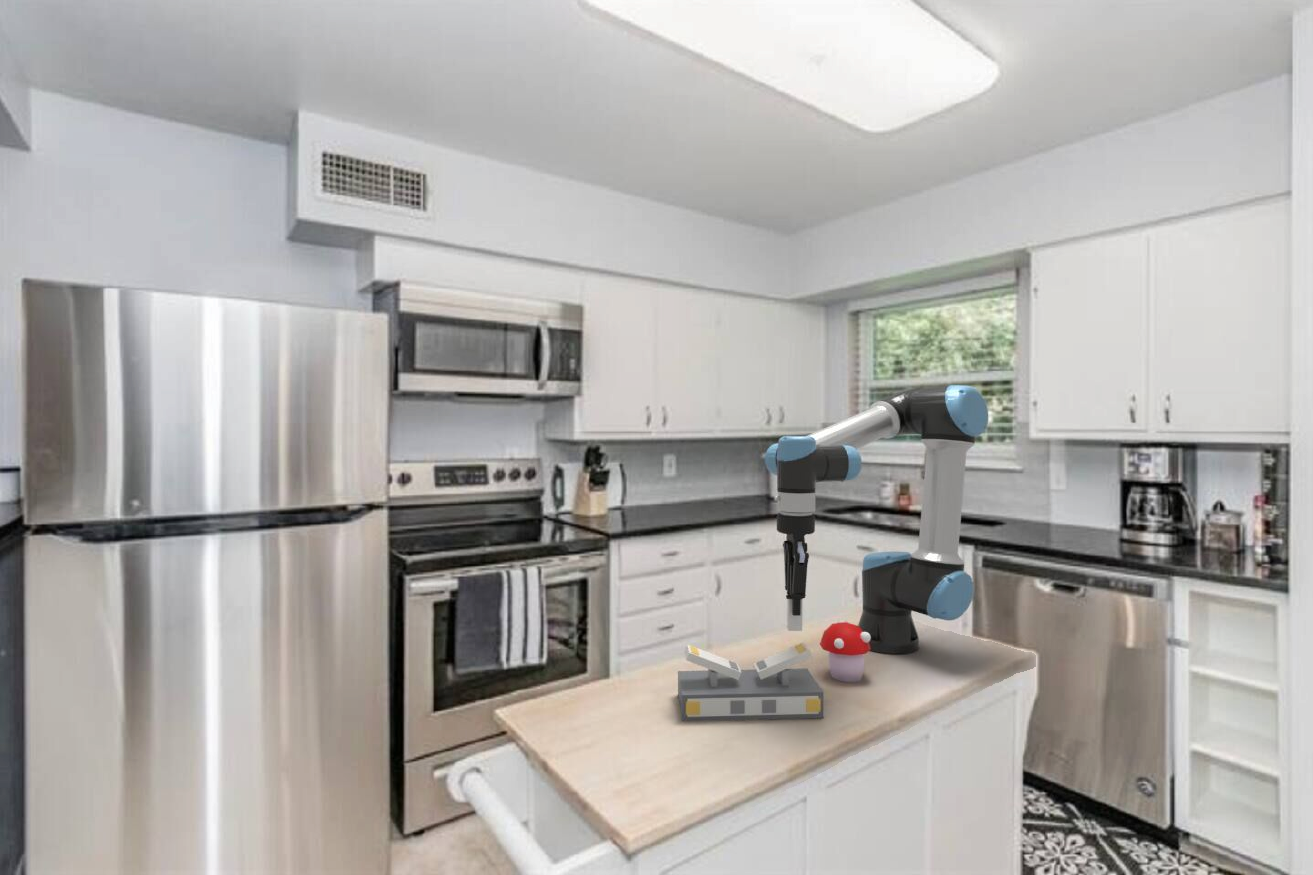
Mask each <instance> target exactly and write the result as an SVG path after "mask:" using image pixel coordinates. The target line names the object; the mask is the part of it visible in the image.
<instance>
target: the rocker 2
mask: <svg viewBox="0 0 1313 875" xmlns="http://www.w3.org/2000/svg"><path fill="white" fill-rule="evenodd" d="M811 659H813V655H812V653H811V651H810V649H809V647H808V646H807V645H806V643H805V642H804V641H803V642H800V643H798V644H796V645H794V646H790V647H788V648H786V649H784V650H782V651H779V652H776V653H774V654H771V655H770V656H769V655H768V656H767V657H765V658H762V659H760V660H758V661H756V662H753V666H754V667H755V668H754V669H756V670H757V673H758V675H759V677H760V679H764V678H766V677H768V676H771V675H773V674H776V673H778V672H780V671H783V670H785V669H791V668H792V667H795V666H796V665H799V664H802V663H804V662H806V661H809V660H811Z"/></svg>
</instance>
